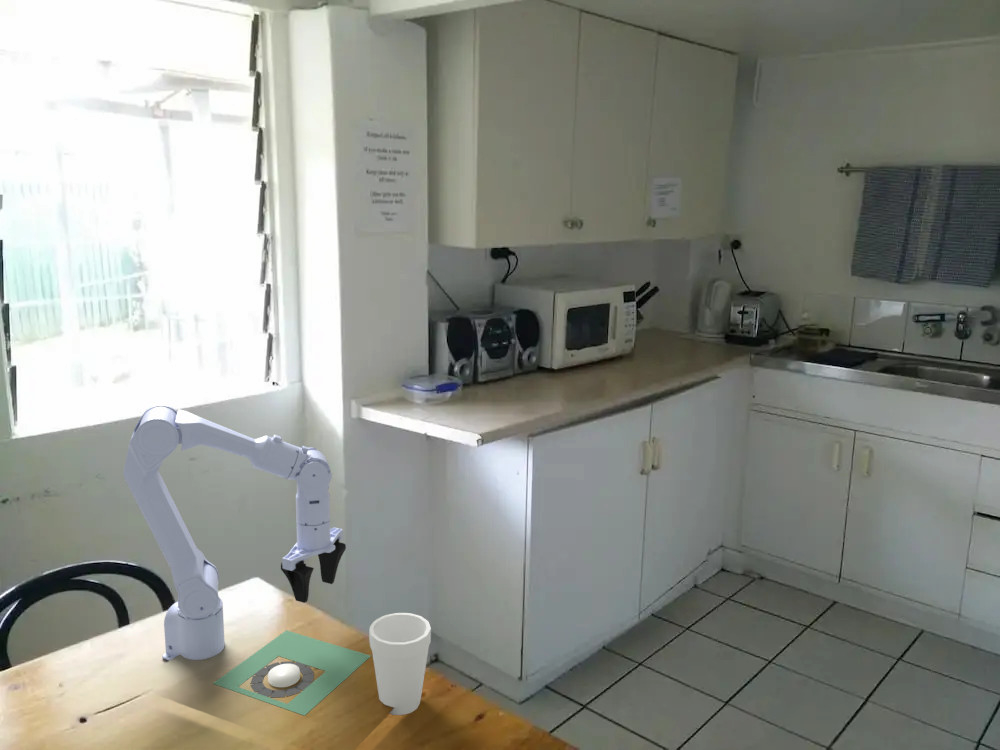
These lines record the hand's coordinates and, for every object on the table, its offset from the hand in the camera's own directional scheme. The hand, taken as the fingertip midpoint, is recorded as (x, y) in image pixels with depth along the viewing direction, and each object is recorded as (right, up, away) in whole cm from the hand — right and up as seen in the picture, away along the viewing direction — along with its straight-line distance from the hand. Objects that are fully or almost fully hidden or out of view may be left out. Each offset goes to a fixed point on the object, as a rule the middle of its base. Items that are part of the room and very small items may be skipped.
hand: (315, 591), depth 142 cm
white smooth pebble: (-2, -12, -12) cm, 17 cm away
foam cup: (+17, -14, -15) cm, 26 cm away
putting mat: (-1, -12, -9) cm, 15 cm away
